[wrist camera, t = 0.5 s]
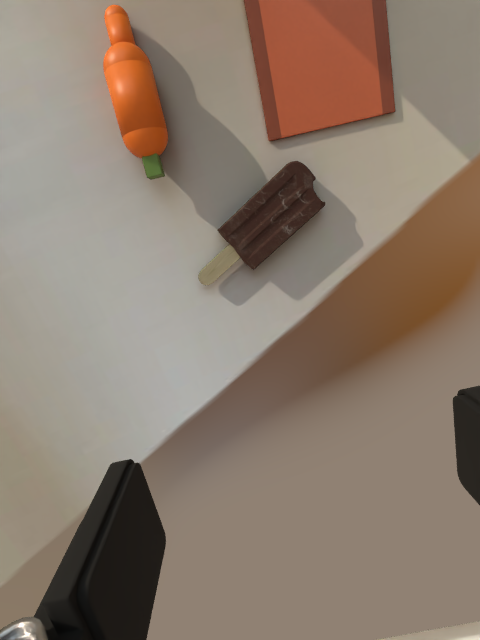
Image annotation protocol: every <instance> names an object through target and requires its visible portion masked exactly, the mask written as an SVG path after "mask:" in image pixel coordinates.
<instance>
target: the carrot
mask: <svg viewBox="0 0 480 640" xmlns="http://www.w3.org/2000/svg"><path fill="white" fill-rule="evenodd" d="M105 23H106V27H107V30H108V34H109V38H110V42H111V45H112V46H111V47H110V48H109V49H108V51H107V52H106V55H105V58H104V62H103V63H104V74H105V78H106V81H107V85H108V88H109V92H110V96H111V99H112V103H113V106H114V110H115V113H116V117H117V120H118V124H119V128H120V131H121V135H122V138H123V141H124V144H125V145H126V147H127V148H128V150H129V151H130V152H131V153H132V154H134V155H135V156H137V157H139V158H142V160H143V164H144V167H145V171H146V175H147V178H149V179H155V178H159V177H164V176H165V175H164V171H163V167H162V163H161V159H160V156H159V155H160V154H162V153H163V151H164V150H165V148H166V145H167V142H168V133H167V128H166V124H165V120H164V115H163V111H162V107H161V103H160V99H159V95H158V91H157V87H156V83H155V79H154V75H153V71H152V67H151V64H150V61H149V59H148V57H147V56H146V54H145V53H144V52H143V51H142V50H141V49H140V48H139V47H138V46H136V45H135V41H134V37H133V33H132V29H131V25H130V21H129V18H128V15H127V13H126V12H125V10H124V9H123V8H122V7H120V6H118V5H111V6H109V7H108V8H107V9H106V11H105Z"/></svg>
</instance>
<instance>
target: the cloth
mask: <svg viewBox="0 0 480 640" xmlns="http://www.w3.org/2000/svg"><path fill="white" fill-rule="evenodd" d="M244 3H245V9H246V14H247V20H248V25H249V31H250V37H251V42H252V48H253V54H254V59H255V65H256V71H257V76H258V82H259V88H260V93H261V99H262V104H263V110H264V116H265V121H266V127H267V133H268V138H269V141H273V140H277V139H281V138H286V137H290V136H294V135H299V134H303V133H307V132H311V131H316V130H320V129H324V128H328V127H333V126H337V125H341V124H346V123H350V122H354V121H358V120H363V119H367V118H371V117H375V116H380V115H384V114H388V113H393V112H395V103H394V91H393V80H392V68H391V56H390V45H389V33H388V21H387V10H386V0H244Z"/></svg>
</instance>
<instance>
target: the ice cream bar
mask: <svg viewBox="0 0 480 640" xmlns="http://www.w3.org/2000/svg"><path fill="white" fill-rule="evenodd" d="M315 179H316V178H315V176H314V175H313V174H312V173H311V171H310V170H309V169H308V168H307V167H306V166H305V165H304V164H302V163H301V162H298V161H293V162H290V163H288V164H287V165H286V166H285V167H284V168H283V169H282V170H280V171H279V172H278V173H277V174H276V175H275V176H274V177H273V178H272V179H271V180H270V181H269V182H268V183H267V184H266V185H265V186H264V187H263V188H261V189H260V190H259V191H258V192H257V193H256V194H255V195H254V196H253V197H252V198H251V199H250V200H249V201H248V202H247V203H246V204H245V205H244V206H242V207H241V208H240V209H239V210H238V211H237V212H236V213H235V214H234V215H233V216H232V217H231V218H230V219H229V220H228V221H227V222H226V223H225V224H223V225H222V226H221V227H220V228H219V229H218V231H219V233H220V234H221V235H222V236H223V238H224V239H225V240H226V241H227V242H228V243H229V245H228V246H227V247H226V248H225V249H224V250H223V251H222V252H220V253H219V254H218V255H217V256H216V257H215V258H214V259H213V260H212V261H211V262H210V263H209V264H208V265H206V266H205V267H204V268H203V269H202V270H201V271H200V273H199V275H198V278H199V281H200V282H201V283H202V284H204V285H210V284H212V283H213V282H214V281H215V280H216V279H218V278H219V277H220V276H221V275H222V274H223V273H224V272H225V271H226V270H227V269H228V268H230V267H231V266H232V265H233V264H234V263H235V262H236V261H237V260H238V259H239V258H240V257H241V259H242V260H243V261H244V262H245V263H246V264H247V265H248V266H249V267H250V268H251V269H253V270H254V269H255V268H256V267H257V266H258V265H259V264H260V263H262V262H263V261H264V260H265V259H266V258H267V257H268V256H269V255H270V254H272V253H273V252H274V251H275V250H276V249H277V248H278V247H279V246H280V245H282V244H283V243H284V242H285V241H286V240H287V239H288V238H289V237H290V236H292V235H293V234H294V233H295V232H296V231H297V230H298V229H299V228H300V227H302V226H303V225H304V224H305V223H306V222H307V221H308V220H309V219H310V218H312V217H313V216H314V215H315V214H316V213H317V212H318V211H319V210H320V209H322V208H323V207H324V206H325V202H322V201H321V200H320V199H319V197H318V196H317V195H316V193H315V192H314V189H313V181H314V180H315Z"/></svg>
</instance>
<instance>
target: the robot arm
mask: <svg viewBox="0 0 480 640" xmlns="http://www.w3.org/2000/svg"><path fill="white" fill-rule="evenodd" d="M453 411H454V427H455V443H456V458H457V472H458V477H459V479H460V482H461V483H462V485H463V486H464V488H465V489H466V490H467V491H468V492H469V494H470V495H471V496H472V497H473V498H474V499H475V500H476V501H477V503H478V504H479V505H480V386H476V387H471V388H467V389H462V390H459V391H458V394H457V396H455V397H454V398H453ZM165 544H166V537H165V532H164V529H163V526H162V523H161V520H160V518H159V515H158V512H157V509H156V507H155V504H154V501H153V498H152V496H151V493H150V490H149V487H148V485H147V482H146V479H145V476H144V473H143V471H142V468H141V465H140V464H139V463H134V461H133V460H131V459H129V460H124V461H119V462H115V463H112V464H111V465H110V466H109V468H108V470H107V472H106V474H105V476H104V478H103V480H102V483H101V485H100V487H99V489H98V491H97V493H96V495H95V497H94V499H93V501H92V503H91V505H90V507H89V509H88V511H87V513H86V515H85V517H84V519H83V521H82V522H81V524H80V525H79V527H78V529H77V532H76V533H75V536H74V537H73V539H72V541H71V543H70V545H69V547H68V550H67V552H66V553H65V556H64V557H63V559H62V562H61V564H60V565H59V567H58V569H57V571H56V574H55V575H54V577H53V579H52V582H51V583H50V586H49V588H48V590H47V592H46V593H45V595H44V597H43V599H42V601H41V603H40V606H39V607H38V609H37V611H36V614H35V615H34V617H26V618H22V619H19V620H16V621H14V622H12V623H10V624H9V625H7V626H5V627H4V628H2V629H1V630H0V640H146V638H147V634H148V628H149V624H150V619H151V613H152V609H153V604H154V599H155V595H156V590H157V585H158V579H159V575H160V569H161V565H162V560H163V555H164V550H165ZM378 640H480V621H478V622H472V623H466V624H462V625H455V626H450V627H444V628H439V629H433V630H428V631H421V632H416V633H410V634H405V635H400V636H394V637H389V638H383V639H378Z"/></svg>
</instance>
